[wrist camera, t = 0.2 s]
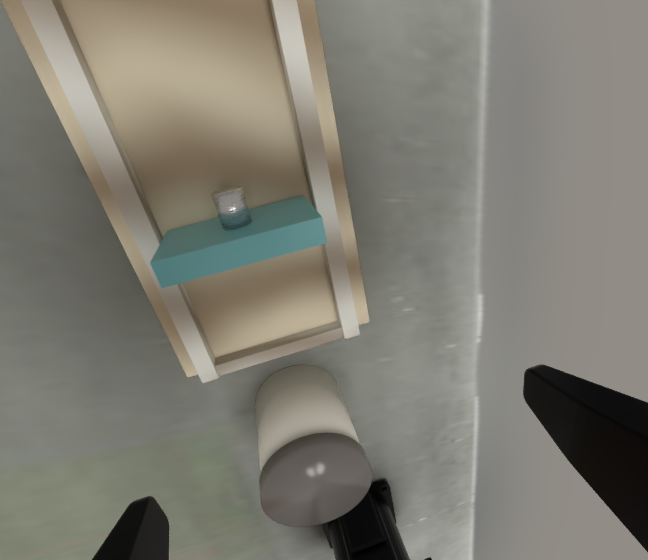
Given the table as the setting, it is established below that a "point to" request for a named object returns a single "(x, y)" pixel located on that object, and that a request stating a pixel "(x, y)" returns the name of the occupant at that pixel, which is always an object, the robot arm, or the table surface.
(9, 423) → the table surface
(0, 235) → the table surface
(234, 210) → the plate
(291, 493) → the jar
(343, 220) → the lane
